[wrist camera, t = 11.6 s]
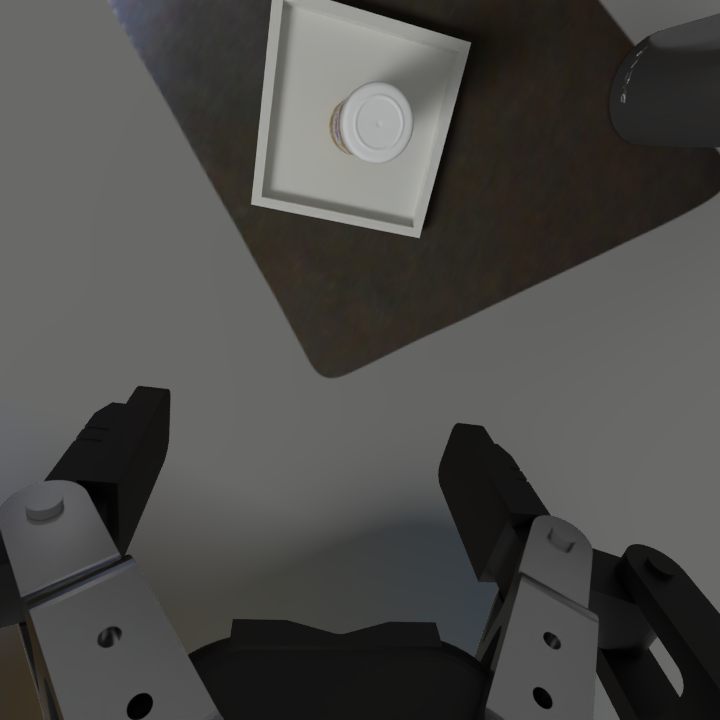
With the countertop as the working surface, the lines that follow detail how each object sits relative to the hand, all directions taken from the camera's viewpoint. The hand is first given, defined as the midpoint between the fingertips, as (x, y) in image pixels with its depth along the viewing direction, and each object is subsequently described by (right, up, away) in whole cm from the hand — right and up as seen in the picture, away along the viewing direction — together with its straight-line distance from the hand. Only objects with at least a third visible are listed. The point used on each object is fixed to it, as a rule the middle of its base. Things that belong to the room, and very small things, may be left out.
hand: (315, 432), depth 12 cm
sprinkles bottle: (+1, +23, +27) cm, 35 cm away
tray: (+1, +23, +27) cm, 35 cm away
